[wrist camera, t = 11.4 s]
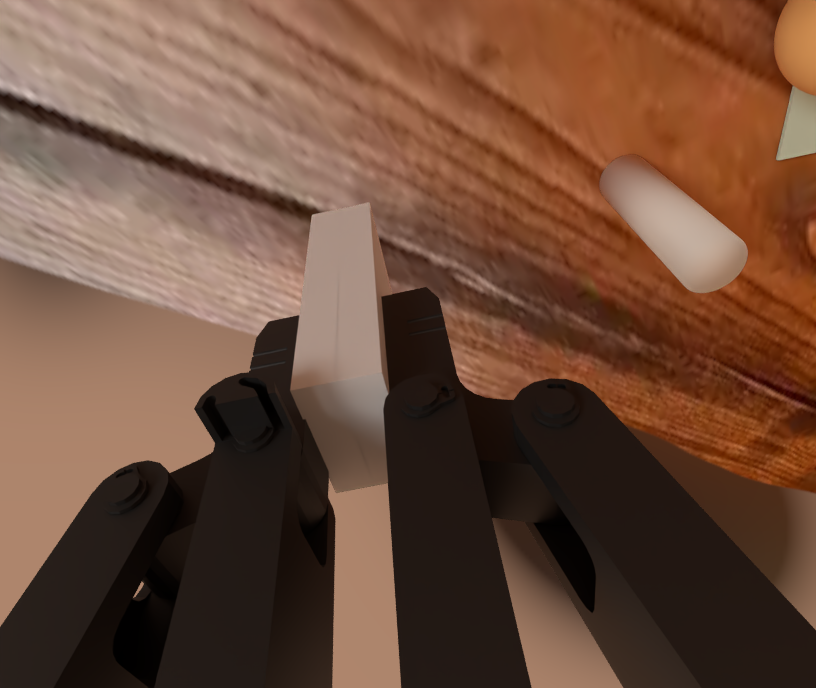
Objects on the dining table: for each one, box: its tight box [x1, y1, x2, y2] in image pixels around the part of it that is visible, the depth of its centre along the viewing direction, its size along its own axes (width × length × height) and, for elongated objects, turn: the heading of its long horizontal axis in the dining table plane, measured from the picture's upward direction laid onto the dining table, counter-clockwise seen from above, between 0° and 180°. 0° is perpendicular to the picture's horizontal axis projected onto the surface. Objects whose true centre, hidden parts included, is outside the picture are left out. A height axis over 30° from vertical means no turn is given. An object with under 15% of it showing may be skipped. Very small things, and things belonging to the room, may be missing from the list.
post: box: [599, 154, 748, 293], centre depth 25 cm, size 3×3×9 cm
